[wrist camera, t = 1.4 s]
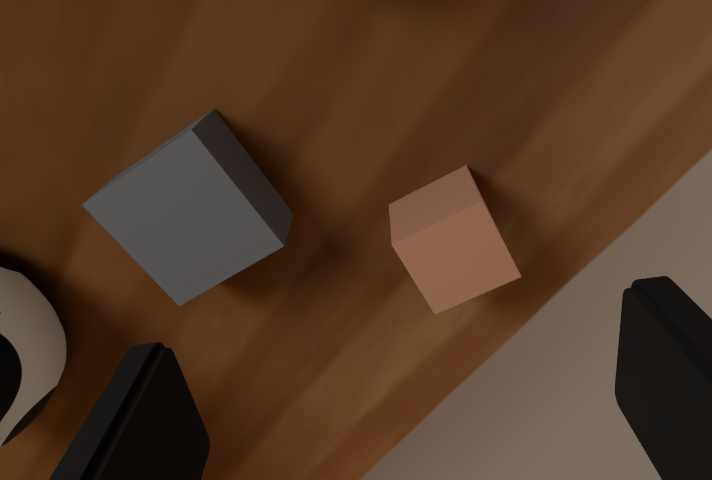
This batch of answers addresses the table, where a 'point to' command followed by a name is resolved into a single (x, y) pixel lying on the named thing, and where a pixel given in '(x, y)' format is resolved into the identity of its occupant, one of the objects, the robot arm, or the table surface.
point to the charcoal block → (194, 210)
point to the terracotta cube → (450, 241)
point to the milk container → (26, 351)
